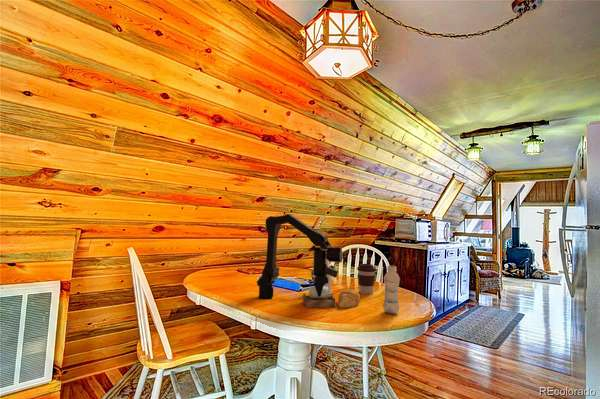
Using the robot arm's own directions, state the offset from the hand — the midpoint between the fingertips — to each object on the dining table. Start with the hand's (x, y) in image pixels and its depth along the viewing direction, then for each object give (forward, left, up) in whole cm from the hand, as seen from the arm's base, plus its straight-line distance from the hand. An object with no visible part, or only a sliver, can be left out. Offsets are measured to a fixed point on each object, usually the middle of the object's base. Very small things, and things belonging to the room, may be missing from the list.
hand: (318, 294), depth 148 cm
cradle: (0, 0, -4) cm, 4 cm away
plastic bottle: (+30, -11, -5) cm, 32 cm away
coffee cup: (+28, +24, -5) cm, 37 cm away
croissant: (+15, +2, -5) cm, 15 cm away
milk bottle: (+5, +21, -5) cm, 22 cm away
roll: (0, 0, -1) cm, 1 cm away
